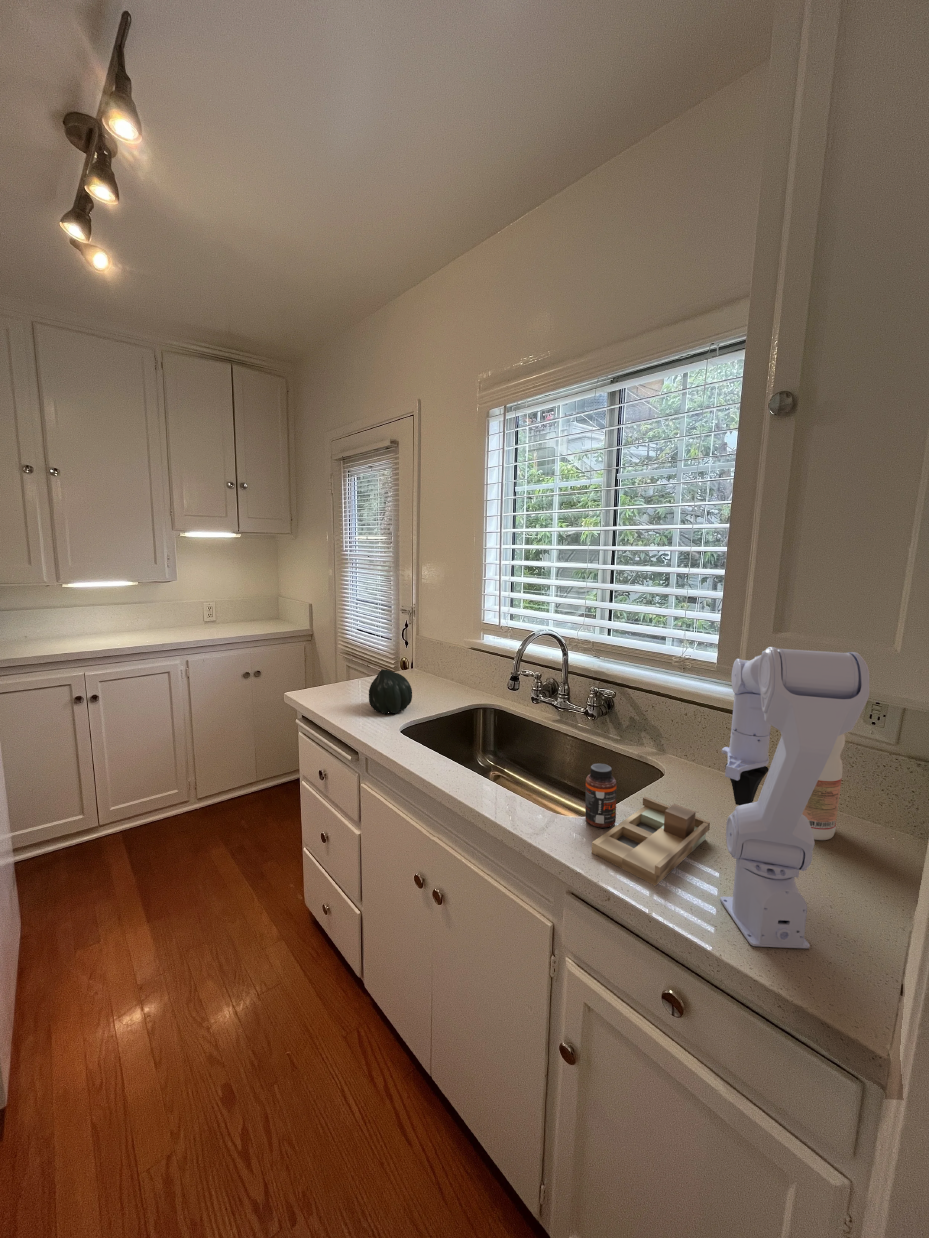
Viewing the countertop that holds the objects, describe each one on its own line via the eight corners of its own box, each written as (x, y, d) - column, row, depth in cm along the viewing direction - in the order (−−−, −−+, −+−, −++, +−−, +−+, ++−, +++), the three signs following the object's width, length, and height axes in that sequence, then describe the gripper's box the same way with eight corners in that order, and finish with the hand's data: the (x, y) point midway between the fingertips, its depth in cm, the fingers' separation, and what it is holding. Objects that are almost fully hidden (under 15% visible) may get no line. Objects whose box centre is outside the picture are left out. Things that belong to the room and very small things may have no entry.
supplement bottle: (607, 832, 95) (607, 776, 94) (579, 822, 99) (579, 768, 98) (621, 820, 99) (621, 766, 98) (594, 810, 104) (594, 758, 102)
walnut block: (685, 839, 90) (686, 819, 89) (663, 830, 93) (665, 810, 92) (694, 831, 93) (695, 811, 92) (672, 823, 96) (674, 803, 95)
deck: (658, 887, 80) (659, 866, 79) (589, 851, 89) (590, 832, 89) (708, 839, 94) (710, 821, 93) (643, 812, 103) (644, 796, 103)
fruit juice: (768, 823, 99) (782, 688, 96) (790, 811, 105) (804, 682, 101) (821, 847, 92) (839, 700, 88) (843, 832, 97) (860, 693, 93)
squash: (427, 694, 167) (403, 658, 171) (399, 707, 155) (373, 668, 158) (403, 715, 174) (381, 680, 178) (374, 729, 162) (351, 691, 165)
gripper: (740, 714, 92) (733, 783, 94) (708, 734, 82) (702, 810, 84) (784, 724, 87) (776, 797, 89) (755, 747, 77) (747, 828, 79)
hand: (743, 805), depth 86 cm, fingers closed
